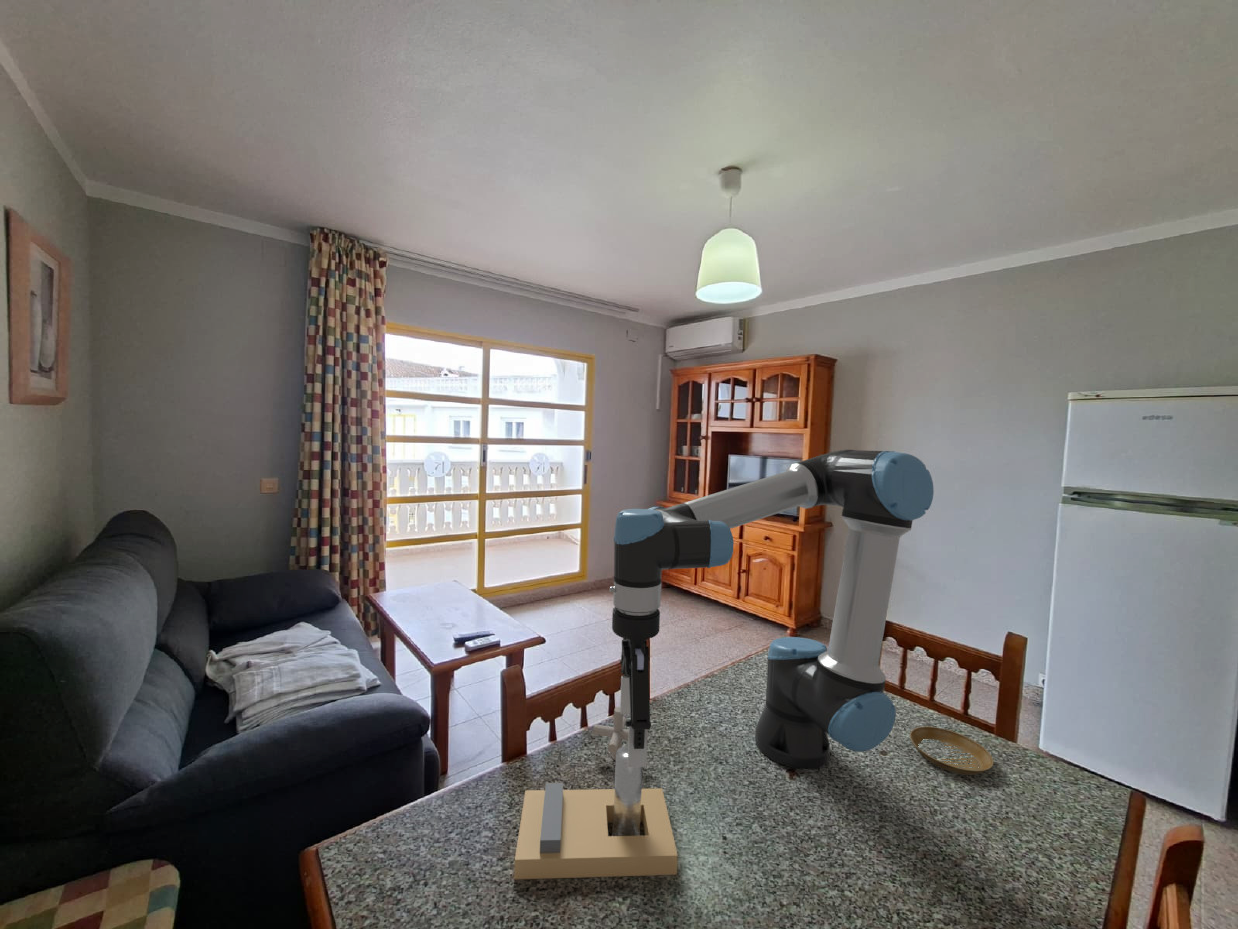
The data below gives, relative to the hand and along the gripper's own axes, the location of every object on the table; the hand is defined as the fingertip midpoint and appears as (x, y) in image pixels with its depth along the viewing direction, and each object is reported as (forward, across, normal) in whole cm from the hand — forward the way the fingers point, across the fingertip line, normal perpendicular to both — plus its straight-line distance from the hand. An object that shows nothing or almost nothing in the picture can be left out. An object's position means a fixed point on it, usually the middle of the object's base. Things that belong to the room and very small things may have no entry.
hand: (632, 737), depth 79 cm
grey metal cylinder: (+17, 0, 0) cm, 17 cm away
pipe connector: (+17, -20, 0) cm, 26 cm away
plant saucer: (+18, -19, +70) cm, 75 cm away
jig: (+17, 0, -6) cm, 18 cm away
